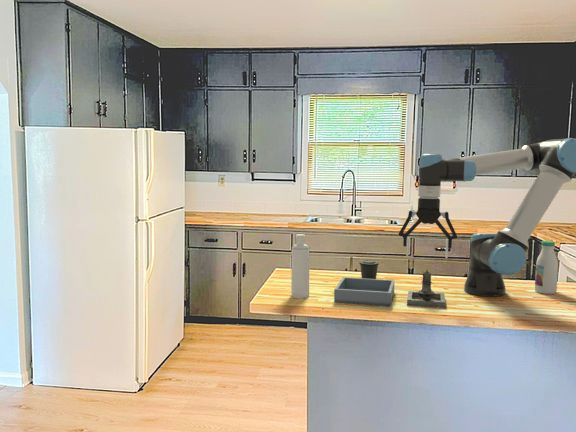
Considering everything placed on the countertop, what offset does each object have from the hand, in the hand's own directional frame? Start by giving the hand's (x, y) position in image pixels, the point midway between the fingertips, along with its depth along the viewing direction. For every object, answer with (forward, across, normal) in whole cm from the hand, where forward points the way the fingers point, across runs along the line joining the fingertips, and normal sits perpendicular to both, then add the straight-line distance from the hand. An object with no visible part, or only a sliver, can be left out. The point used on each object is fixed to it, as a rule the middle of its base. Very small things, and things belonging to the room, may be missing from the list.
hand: (426, 256), depth 192 cm
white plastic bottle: (+17, -46, -4) cm, 49 cm away
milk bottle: (+16, +45, +27) cm, 55 cm away
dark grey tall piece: (+17, 0, 0) cm, 17 cm away
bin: (+17, -22, 0) cm, 27 cm away
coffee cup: (+17, -23, +21) cm, 35 cm away
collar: (+17, 0, 0) cm, 17 cm away
